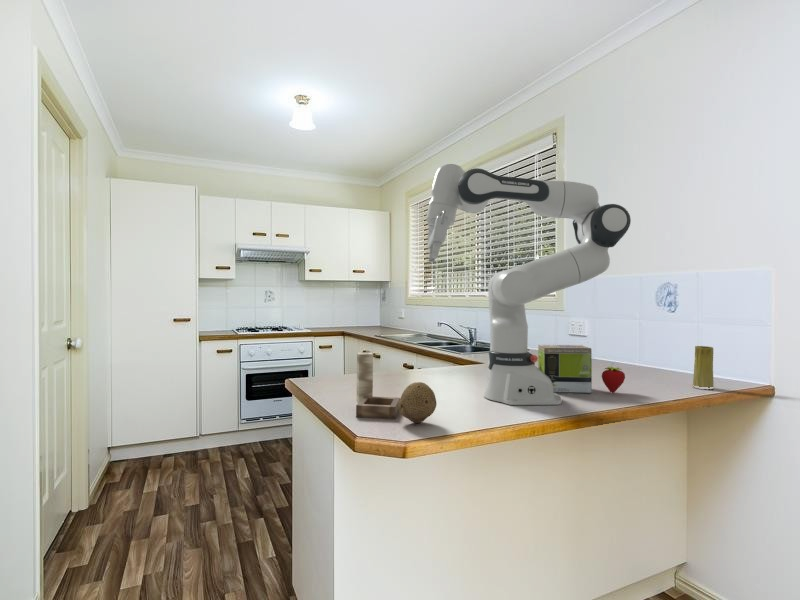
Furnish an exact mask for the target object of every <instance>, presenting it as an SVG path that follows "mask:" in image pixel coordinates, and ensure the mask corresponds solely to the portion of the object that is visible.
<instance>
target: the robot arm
mask: <svg viewBox="0 0 800 600" xmlns="http://www.w3.org/2000/svg"><path fill="white" fill-rule="evenodd" d="M430 193H431V199H430V201H429V202H428V205H427V206H428V207H427V212H426V218H425V220H426V221H427V225H428V234H427V249H428V250H429V254H428V255H429V256H428V262H429V263H434V262H435V260H436V259H438V258H439V252H440V250H441V247H442V245H443V244H444V242H445V241H446V237H447V233H448V230H450V227H451V226H454V225H455V221H456V216H457V210H460V211H463V212H466V213H470V214H476V213H480V212H482V211H483V210H484V209H485V208H486V207H487V205H488V203H489V201H491V200H494V199H495V200H506V201H510V200H511V201H519V202H523V203H525V204H526V205H528V206H529V208H530V209H531V211H532V212H533V213H534V214H535V215H536V216H540V217H546V218H551V219H552V218H554V219H570V220H573V221H572V226H573V230H574V238H575V240H576V242H577V245H576V246H572V247H569V248H567V249H563V250H560V251H558V252H555V253H551V254H547V255H546V256H543V257H540V258H537V259H534V260H532V261H529V262H526V263H523V264H520V265H517V266H515V267H512V268H509V269H505V270H500V271H498V272H496V273H494V275H492V277H491V278H490V280H489V282H488V288H487V291H488V310H489V322H490V327H489V328H490V332H489V333H490V334H489V336H490V338H489V339H490V342H489V350H488V355H487V367H488V374H487V375H488V376H487V383H486V387H485V390H484V395H483V396H484V398H485V399H487V400H491V401H493V402H498V403H499V402H500V403H504V404H506V405H510V406H514V405H515V406H531V405H532V406H533V405H534V406H535V405H536V406H537V405H539V406H540V405H541V406H542V405H543V406H546V405H548V406H549V405H550V406H552V405H555V406H556V405H557V406H558V405H561V404H562V403H563V402H562V401H563V399H562V397H561V396H560V395H559V394H557V393H556V392H554V389H553V384H552V381H551V380H550V378H549V377H548V376H547V375H545V374H544V373H543V372H542V371H541V370H539V369H538V367H537V366H536V365H535V366H534V365H533V364H534V362H535V363H538V362H537V361H538V355H535V354H532V353H531V352H528V341H529V339H528V337H529V335H528V334H529V327H528V326H529V325H528V322H527V316H526V315H527V314H526V307H525V304H528V303H530V302H533V301H536V300H538V299H541V298H543V297H546V296H548V295H550V294H553V293H556V292H558V291H561V290H565V289H568V288H570V287H573V286H576V285H578V284H582V283H585V282H587V281H589V280H592V279H594V278H596V277H598V276H599V275H602V274H603V273H604V272H606V271H607V270H608V268H609V267H610V263H611V262H610V261H611V260H610V259H611V258H610V254H609V248H614V247H615V246H616V245H617V244H618V242H620V241H621V239H622V238H623V237H624V236H625V234H626V233H628V230H629V229H630V226H631V223H632V222H631V215H630V213H629V211H628V210H627V208H625V207H624V206H622V205H620V204H617V203H608V204H604V205H600V203H599V193H598V191H597V189H596V187H595V186H593V185H591V184H586V183H584V182H583V183H582V182H576V181H568V180H542V179H531V178H524V177H512V176H504V175H503V176H502V175H497V174H494V173H492V172H491V171H488V170H485V169H483V168H480V167H479V168H476V167H475V168H471V169H468V170H467V171H465V170H464V169H463V168H462V166H460V165H458V164H455V163H454V164H453V163H450V164H449V163H447V164H445V165H441V166H440V167H438V169H437V170H436V172H435V175H434V178H433V182H432V185H431V190H430Z"/></svg>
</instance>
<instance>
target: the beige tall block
mask: <svg viewBox="0 0 800 600" xmlns="http://www.w3.org/2000/svg"><path fill="white" fill-rule="evenodd" d="M373 373H374V354H373V352H371V351H369V352H366V351H365V352H356V402H357V404H358V403H359V401H360V400H361V399H362V398H363V397H364V396H370V397H374V396H373V394H374V393H373V392H374V390H373V388H374V385H373V383H374V382H373V381H374V374H373Z"/></svg>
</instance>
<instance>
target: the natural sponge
mask: <svg viewBox="0 0 800 600" xmlns="http://www.w3.org/2000/svg"><path fill="white" fill-rule="evenodd" d="M399 398H400V401H399V403H398V411H399V412H398V414H400V415H401V416H403V417H404V418H406V419H407V420H409V421H410V422H412V423H415V424H420V423H422V422H424V421H425V420H426V419H427V418H429V417H430V416H432V415H433V414H434V413H435V410H436V408H437V398H436V394H435V392H434V390H433V389H432V388H431V387H430V386H429V385H428V384H426V383H425V382H421V381H420V382H419V381H418V382H416V381H415V382H413V383H410V384H409V385H407V386H406V387H405V388H404V390H403V392H402V393H401V395H400V397H399Z"/></svg>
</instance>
